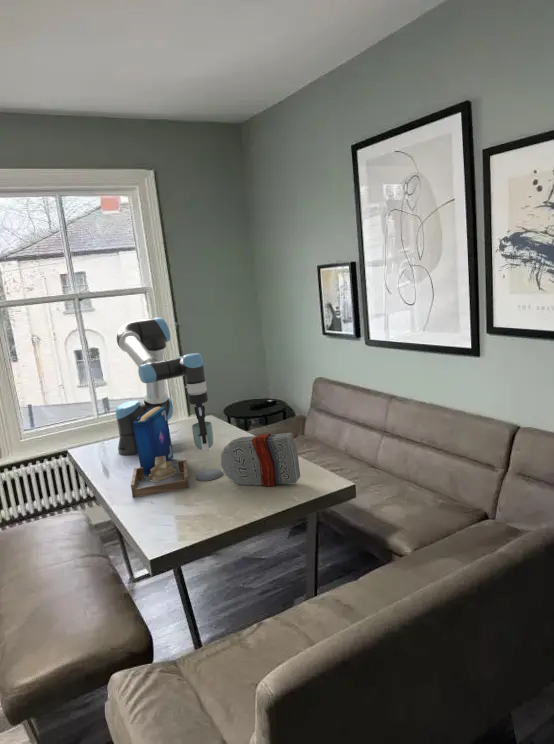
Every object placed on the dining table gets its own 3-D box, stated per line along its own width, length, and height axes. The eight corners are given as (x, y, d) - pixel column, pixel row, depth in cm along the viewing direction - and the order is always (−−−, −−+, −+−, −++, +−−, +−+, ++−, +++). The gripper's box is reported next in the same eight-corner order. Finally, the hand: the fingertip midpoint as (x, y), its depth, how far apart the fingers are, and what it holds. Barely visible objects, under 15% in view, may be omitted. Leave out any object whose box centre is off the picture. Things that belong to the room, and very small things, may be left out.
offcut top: (155, 469, 224) (154, 463, 224) (156, 463, 232) (155, 457, 232) (166, 468, 225) (165, 462, 225) (166, 461, 233) (165, 455, 233)
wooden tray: (135, 479, 230) (134, 468, 229) (187, 471, 234) (186, 459, 233) (132, 497, 212) (130, 485, 211) (189, 487, 215) (187, 475, 214)
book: (155, 477, 231) (145, 419, 226) (139, 477, 233) (129, 420, 228) (174, 458, 252) (166, 405, 247) (159, 458, 253) (151, 406, 249)
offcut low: (149, 480, 229) (148, 474, 228) (170, 473, 235) (169, 466, 235) (154, 483, 225) (153, 476, 225) (176, 475, 232) (175, 469, 231)
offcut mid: (151, 476, 226) (150, 469, 226) (163, 467, 235) (162, 461, 234) (160, 476, 225) (159, 469, 224) (172, 467, 233) (171, 461, 233)
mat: (194, 473, 230) (194, 471, 230) (221, 468, 232) (221, 467, 232) (195, 482, 220) (195, 481, 220) (223, 478, 222) (223, 476, 221)
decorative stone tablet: (294, 430, 206) (221, 437, 217) (288, 435, 200) (214, 442, 211) (303, 479, 209) (231, 483, 220) (298, 486, 203) (225, 490, 214)
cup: (208, 451, 219) (204, 427, 217) (191, 451, 222) (188, 427, 220) (218, 445, 225) (215, 421, 224) (202, 444, 229) (198, 421, 227)
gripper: (187, 388, 229) (194, 441, 233) (188, 399, 209) (196, 457, 213) (205, 386, 230) (212, 438, 234) (208, 396, 210) (216, 454, 214)
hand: (205, 447), depth 224 cm, fingers closed on cup, 8 cm apart
